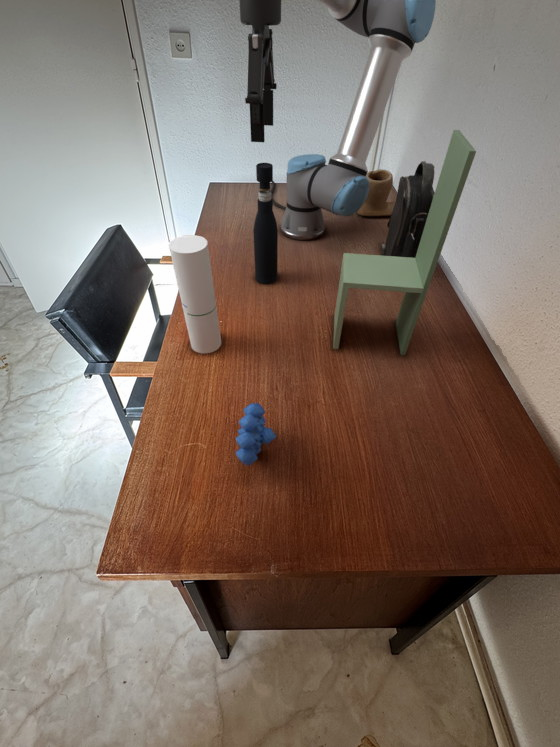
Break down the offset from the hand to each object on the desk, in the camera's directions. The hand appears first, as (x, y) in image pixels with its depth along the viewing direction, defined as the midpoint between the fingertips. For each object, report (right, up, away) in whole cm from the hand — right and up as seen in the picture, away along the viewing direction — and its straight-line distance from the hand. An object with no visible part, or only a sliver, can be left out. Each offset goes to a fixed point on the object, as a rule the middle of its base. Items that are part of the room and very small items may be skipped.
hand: (262, 133), depth 81 cm
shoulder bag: (+40, -19, +33) cm, 56 cm away
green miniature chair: (+25, -44, +9) cm, 51 cm away
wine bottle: (0, -25, +27) cm, 37 cm away
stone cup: (+39, +7, +58) cm, 70 cm away
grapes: (0, -67, -14) cm, 69 cm away
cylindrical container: (-14, -46, +7) cm, 48 cm away
